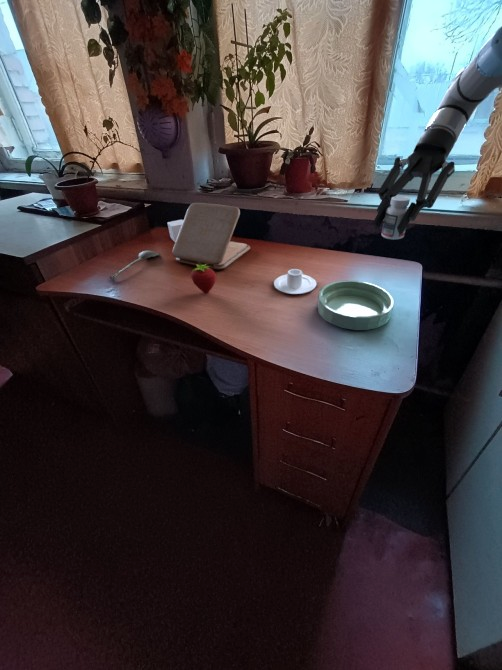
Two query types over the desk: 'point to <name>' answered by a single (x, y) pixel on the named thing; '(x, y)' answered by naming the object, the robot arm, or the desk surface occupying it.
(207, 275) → the strawberry
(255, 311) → the desk surface
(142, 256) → the soupspoon
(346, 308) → the bowl
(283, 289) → the candle holder
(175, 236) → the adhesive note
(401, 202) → the pill bottle
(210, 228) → the case
